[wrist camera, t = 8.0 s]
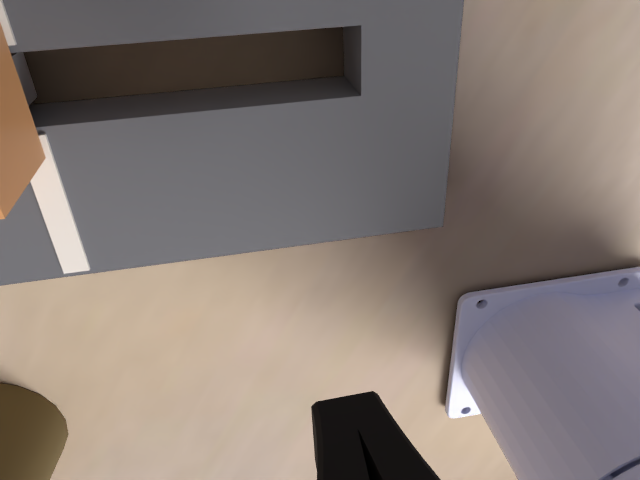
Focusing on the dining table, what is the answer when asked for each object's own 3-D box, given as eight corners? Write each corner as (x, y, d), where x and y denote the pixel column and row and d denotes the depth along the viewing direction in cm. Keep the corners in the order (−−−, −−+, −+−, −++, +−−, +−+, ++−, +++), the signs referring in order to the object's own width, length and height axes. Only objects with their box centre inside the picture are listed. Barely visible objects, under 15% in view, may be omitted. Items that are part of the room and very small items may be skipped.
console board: (445, -190, 15) (498, -214, 12) (420, 196, 21) (451, 237, 18) (-292, -172, 12) (-430, -196, 10) (-71, 258, 19) (-117, 315, 16)
